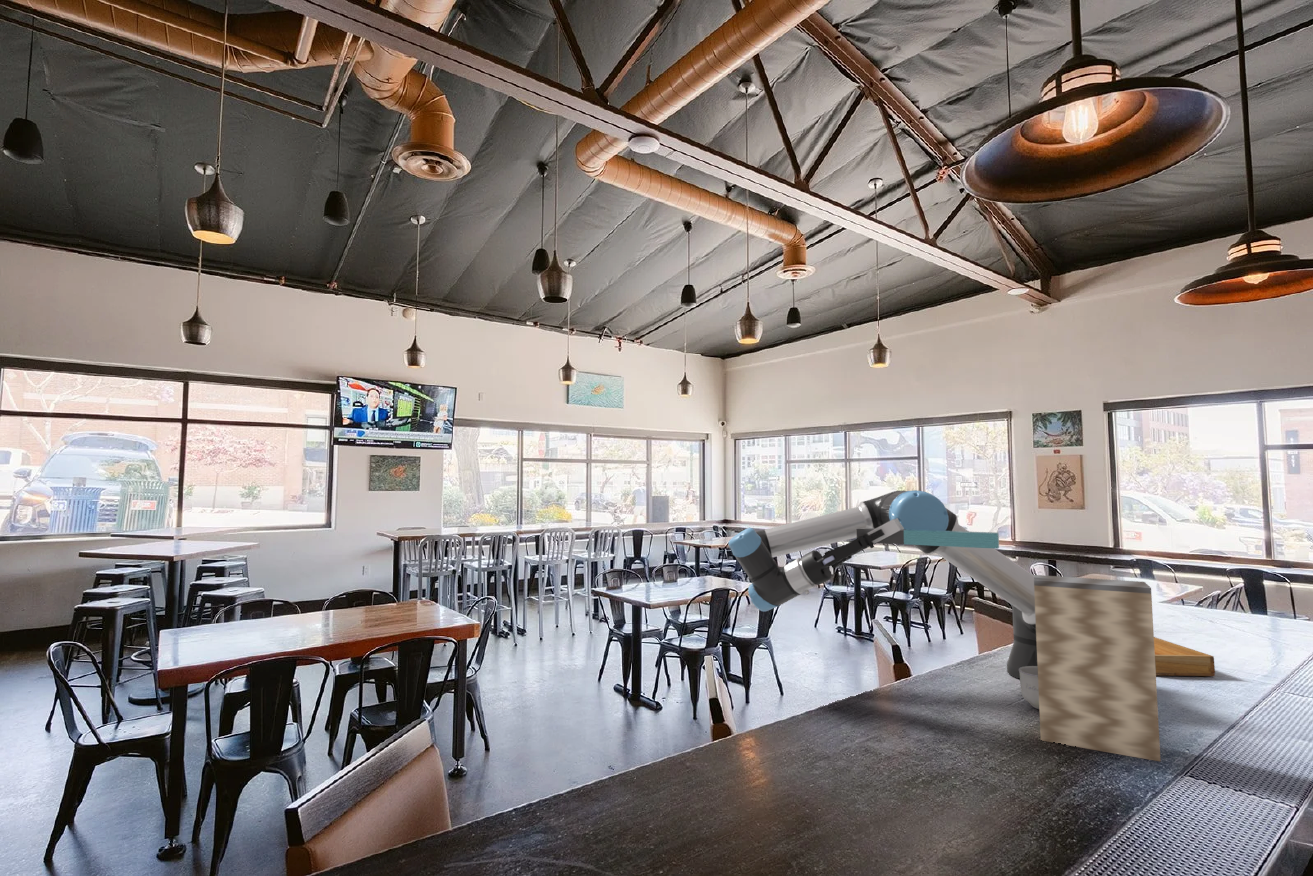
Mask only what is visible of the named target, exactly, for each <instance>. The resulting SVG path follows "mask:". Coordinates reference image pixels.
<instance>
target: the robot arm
mask: <svg viewBox="0 0 1313 876" xmlns="http://www.w3.org/2000/svg"><path fill="white" fill-rule="evenodd" d="M857 528H876V529H874V530H872V531H870V532H868V535H867V534H864V535H863V536H859V537H858V538H857ZM901 529H909V530H938V531H966V532H970V531H969V530H968V529H966V528H965V527H964V526H962V525H960V523H959V520H958V515H956V514H955V513H954V512H952V511H951V510H950V509H949V508H946V506H945V504H944V503H943V502H942V501H941V500H940V499H939V498H938V497H936V496H935V495H934V494H931V493H929V492H927V491H923V490H915V489H913V490H894V491H892V492H888V493H885V494H883V495H879V496H878V497H877V496H876V497H874V498H871V499H868V500H863V501H860V502H859V503H858V505H857V506H856V507H852V508H847V509H844V510H840V511H835V512H830V513H827V514H823V515H819V516H814V517H810V518H806V519H802V520H798V521H795V522H790V523H786V524H782V525H778V526H773V527H770V528H766V529H763V530H759V531H756V529H754V528H753V527H748V528H745V529H744V530H742V531H740V532H739V533H737V534H735V535H734V536H732V537H731V539H730V540H729V541H728V544H727V545H728V548H729V549H730V550H731V553H732V555H733V556H734V557H735V559H736V560H737V562H738V564H740V566H741V568H743V571H744V572H745V573H746V575H747V577H748V578H749V580H750V582H751V584H750V585H749V586H748V590H747V592H748V593H747V594H748V597H750V599H751V601H750V602H751V603H752V604H753V605H754V607H755V608H756V609H757V610H759V611H761V612H769V611H770V610H773V609H775V608H779V607H780V606H782V605H784V604H785V603H787V602H790V601H791V600H792V599H794V598H796V597H799V596H800V595H802V594H804V593H805V595H808V594H810V590H812V589H814V588H816V587H817V586H821V585H823V584H824V583H826V582H828V581H830V580H831V579H832V571H831V568H832V569H835V568H838V567H840V566H841V565H843V563H844V562H847V561H849V560H850V559H852V557H853V556H854V555H857V554H859V553H860V552H862V551H864V550H866V549H868V548H870V549H873V548H875V545H876V544H878V543H877V542H879V541H881V540H883V539H884V538H886V537H888V536H890V535H892V534H894V533H896V532H898V531H900V530H901ZM852 539H853V540H852ZM847 540H848V541H849V540H852V541H850V542H847V543H845V544H843V545H839V546H837V547H835V548H833V549H830V550H827V551H825V552H824V555H822V553H820V551H818V550H815V549H814V548H819V547H823V546H826V545H832V544H835V543H840V542H844V541H847ZM872 542H873V543H872ZM913 546H914V548H916V549H918V550H920V551H921V552H922V553H924V554H926V555H934V554H937V555H938V556H939V557H941V558H943V559H944V560H945V561H947V562H948V563H950V564H951V565H953V566H954V567H956V568H957V569H959V570H960V571H962V572H963V573H964V574H966V575H967V576H969V577H970V578H972V579H973V580H974V581H976V582H978V583H979V584H981V585H982V586H984V587H985V588H987V589H988V590H989V591H990V592H992V593H993V594H996V595H997V596H999V597H1000V598H1001V599H1003V600H1004V601H1006V602H1007V603H1009V604H1010V605H1011V610H1012V611H1011V612H1012V613H1011V614H1012V629H1013V633H1012V635H1013V643H1012V647H1011V650H1010V653H1009V655H1008V659H1007V662H1006V672H1007V674H1008V673H1009V674H1010V675H1009V674H1008V675H1009V676H1011V675H1012V677H1013V676H1014V677H1013V678H1015V677H1016V679H1018V678H1020V672H1019V668H1021V667H1025V666H1038V665H1037V641H1036V618H1035V594H1034V575H1035V574H1034V573H1031V572H1030V571H1028V570H1027V569H1026V568H1024V567H1022V566H1021V565H1019V564H1018V563H1016V562H1015V561H1013V560H1012V559H1011V558H1010V557H1007V556H1006V555H1005V554H1003V553H1002V552H1001V551H998V549H994V548H972V547H951V546H929V545H913ZM810 549H814V550H811V551H809V552H808V553H806V554H804V555H802V556H801V557H798V558H796V559H795V560H792V561H790V562H788V563H787V564H785V565H784V566H781V567H780V566H779V564H777V562H776V560H775V559H774V558H775V557H780V556H784V555H785V556H786V555H788V554H794V553H797V552H802V551H805V550H810Z"/></svg>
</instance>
